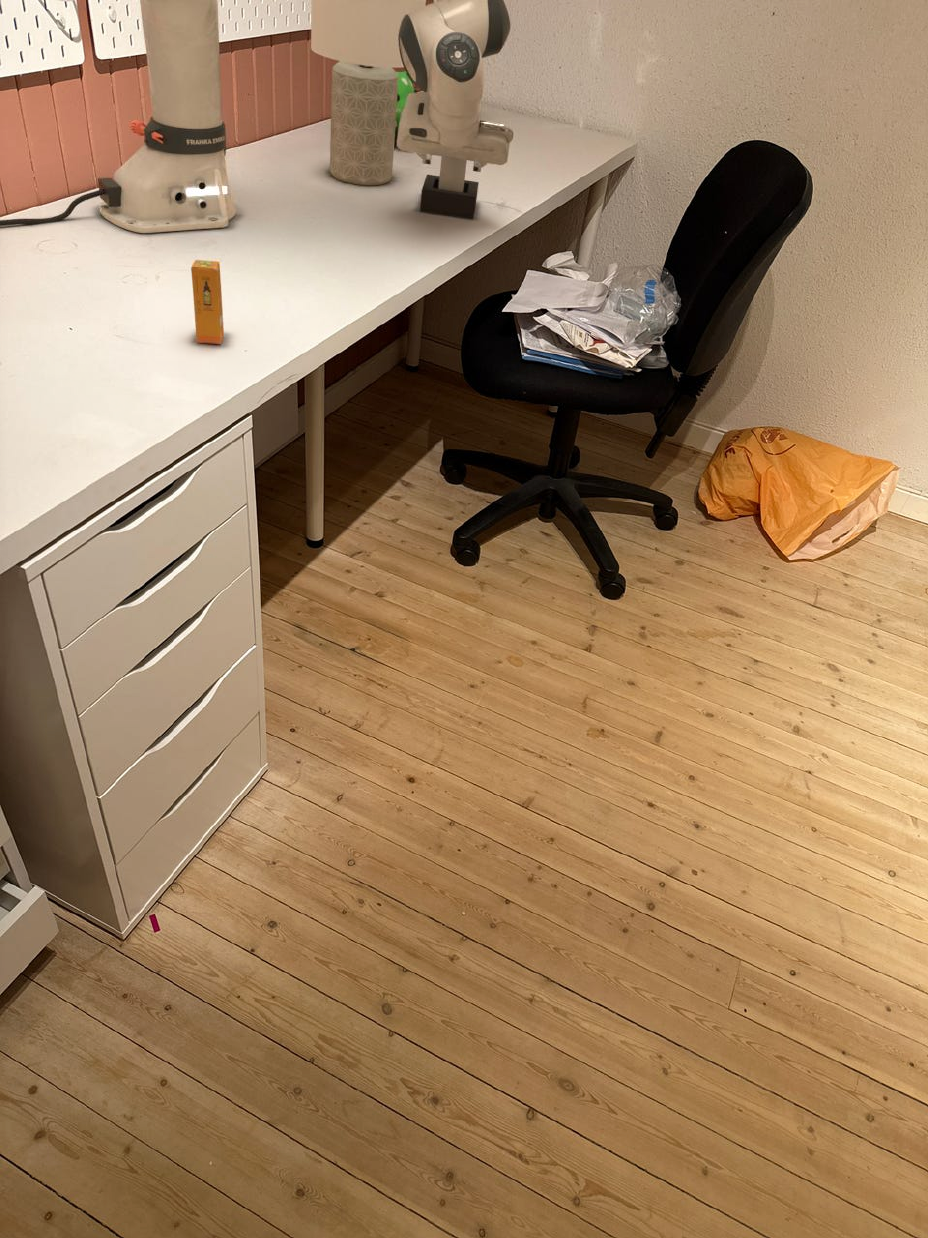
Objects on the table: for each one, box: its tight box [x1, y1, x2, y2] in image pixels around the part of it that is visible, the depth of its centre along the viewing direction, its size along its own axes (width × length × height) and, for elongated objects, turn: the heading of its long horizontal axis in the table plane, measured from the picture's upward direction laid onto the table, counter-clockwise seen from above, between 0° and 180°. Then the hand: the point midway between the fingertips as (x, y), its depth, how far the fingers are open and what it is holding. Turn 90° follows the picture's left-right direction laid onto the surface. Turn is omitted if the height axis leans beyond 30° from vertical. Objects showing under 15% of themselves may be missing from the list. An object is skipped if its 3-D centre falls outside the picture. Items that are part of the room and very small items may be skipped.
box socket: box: [419, 174, 479, 220], centre depth 177 cm, size 10×10×4 cm
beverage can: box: [438, 156, 468, 192], centre depth 175 cm, size 5×5×12 cm
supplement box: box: [190, 259, 225, 345], centre depth 120 cm, size 3×3×10 cm
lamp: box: [310, 0, 427, 186], centre depth 174 cm, size 21×21×42 cm
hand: (452, 164), depth 172 cm, fingers open, 8 cm apart
